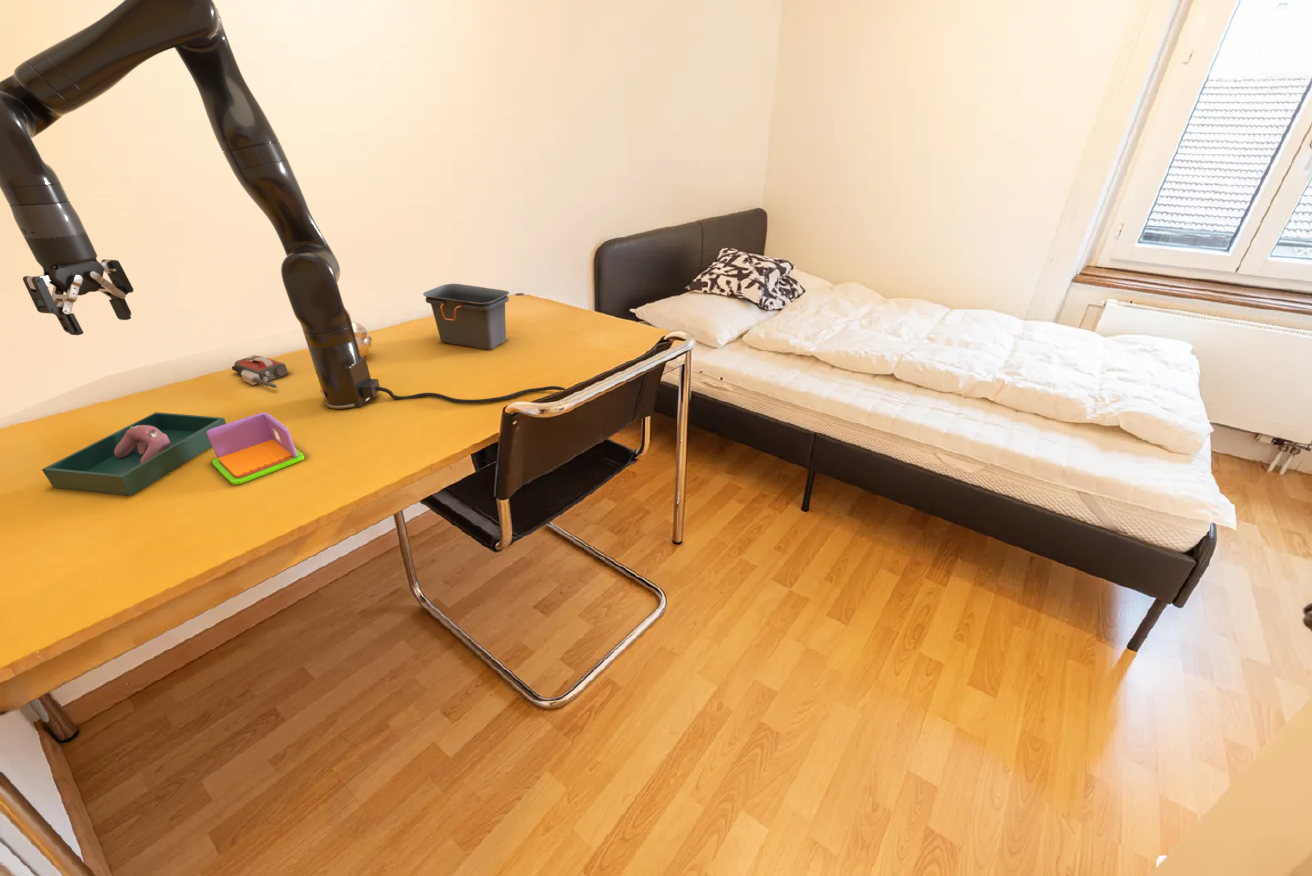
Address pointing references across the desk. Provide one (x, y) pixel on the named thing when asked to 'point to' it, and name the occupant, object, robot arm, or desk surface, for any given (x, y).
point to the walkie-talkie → (260, 370)
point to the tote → (133, 457)
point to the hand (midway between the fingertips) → (102, 326)
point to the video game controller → (142, 442)
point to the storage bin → (469, 314)
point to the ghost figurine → (362, 338)
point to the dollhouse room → (252, 448)
